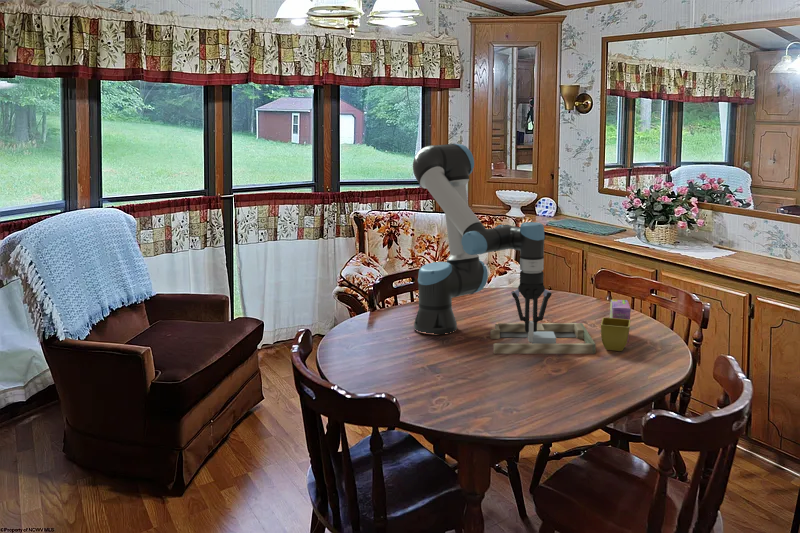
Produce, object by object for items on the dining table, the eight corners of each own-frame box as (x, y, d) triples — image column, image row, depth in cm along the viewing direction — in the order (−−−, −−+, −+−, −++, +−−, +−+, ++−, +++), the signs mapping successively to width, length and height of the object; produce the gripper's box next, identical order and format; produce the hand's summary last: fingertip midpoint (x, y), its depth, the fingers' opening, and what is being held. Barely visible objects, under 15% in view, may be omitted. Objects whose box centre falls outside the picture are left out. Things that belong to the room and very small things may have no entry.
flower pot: (629, 345, 241) (630, 319, 239) (628, 354, 233) (629, 326, 231) (601, 343, 244) (602, 317, 242) (599, 351, 236) (600, 324, 234)
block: (533, 349, 240) (534, 338, 239) (531, 342, 246) (531, 331, 246) (555, 349, 239) (556, 338, 238) (552, 343, 246) (553, 331, 245)
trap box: (493, 353, 236) (493, 344, 236) (489, 331, 259) (489, 323, 258) (595, 353, 235) (595, 344, 234) (582, 331, 257) (582, 323, 256)
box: (629, 342, 244) (630, 308, 242) (611, 341, 246) (612, 307, 243) (626, 333, 254) (627, 299, 252) (608, 332, 255) (610, 299, 253)
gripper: (512, 273, 235) (511, 344, 240) (553, 273, 234) (552, 344, 239) (510, 268, 242) (509, 337, 247) (550, 268, 241) (549, 337, 246)
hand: (530, 340), depth 243 cm, fingers closed
